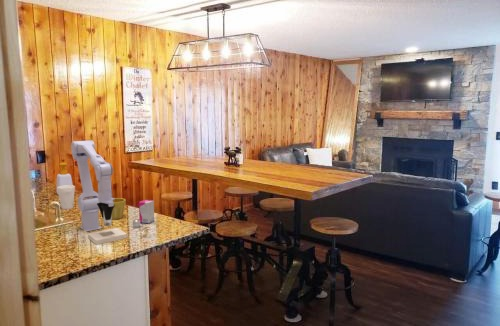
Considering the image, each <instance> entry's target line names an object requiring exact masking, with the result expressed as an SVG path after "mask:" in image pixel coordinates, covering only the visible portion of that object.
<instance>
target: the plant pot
mask: <svg viewBox="0 0 500 326" xmlns="http://www.w3.org/2000/svg"><path fill="white" fill-rule="evenodd" d="M114 198H115V200H113V202H114V205H115V207H114V208H113V211H112V220H119V219H122V218H123V215H124V211H125V207H126V198H122V197H114Z"/></svg>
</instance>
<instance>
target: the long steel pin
mask: <svg viewBox="0 0 500 326" xmlns="http://www.w3.org/2000/svg"><path fill="white" fill-rule="evenodd" d="M102 219H103V221H102V222H103V226H104V227H110V226H112V225H113V219H112V215H111V219H110V220H105V216H104V211H103V218H102Z"/></svg>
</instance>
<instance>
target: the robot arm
mask: <svg viewBox="0 0 500 326" xmlns="http://www.w3.org/2000/svg"><path fill="white" fill-rule="evenodd" d="M95 149H96V144H95V142H94V140H92V139H90V140H73V141H72V142H71V143H70V151H71V155H72V158H73V160H76V163H77V168H78V174H79V178H80V184H81V189H82V192H81V194H80V195H79V196H78V197H77V205H78V210H79V211H80V212H81V215H80V216H81V225H80V226H79V228H80V229H82V230H83V231H85V232H90V231H96V230H100V229H103V227H102V226H101V225H100V218H99V211H100V215H101V218H102V219H103V211H104V216H105V220H110V219H111V215H112V211H113V208H114V207H115V205H114V202H113V200H115V198H116V197H113V192H112V190H113V189H112V175H113V174H114V168H113V165H112V163H110V162H106V160H105V159H104V157H103V156H102V155H101V154H97V151H96V150H95ZM88 161H89V162H88ZM89 163H90V164H91V166H92V167H93V168H94V174H95V178H96V181H97V189H98V191H94V187H93V183H92V182H93V181H92V178H91V172H90V167H89Z"/></svg>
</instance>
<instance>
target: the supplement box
mask: <svg viewBox="0 0 500 326" xmlns="http://www.w3.org/2000/svg"><path fill="white" fill-rule="evenodd" d="M138 210H139V211H138V213H139V214H138V216H139V217H138V219H140V224H144V225H146V224H147V225H150V224H152V223H154V222H155V201H154V200H153V199H152V200H151V199H144V200H141V201H139V202H138Z"/></svg>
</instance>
